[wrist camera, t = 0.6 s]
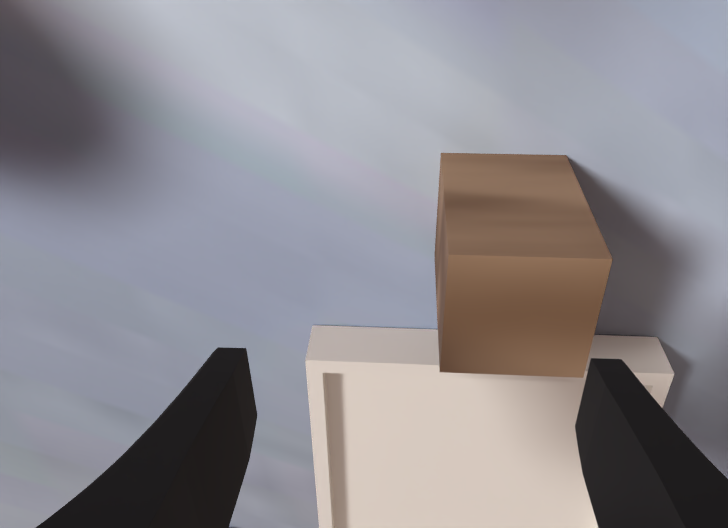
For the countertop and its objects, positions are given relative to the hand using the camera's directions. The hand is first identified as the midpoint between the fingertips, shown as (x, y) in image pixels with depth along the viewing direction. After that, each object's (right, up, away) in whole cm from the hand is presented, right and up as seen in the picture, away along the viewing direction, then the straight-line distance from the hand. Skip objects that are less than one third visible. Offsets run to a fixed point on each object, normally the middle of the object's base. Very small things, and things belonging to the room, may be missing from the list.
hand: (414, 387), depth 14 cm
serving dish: (+4, -5, +15) cm, 16 cm away
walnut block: (+3, +4, +8) cm, 10 cm away
